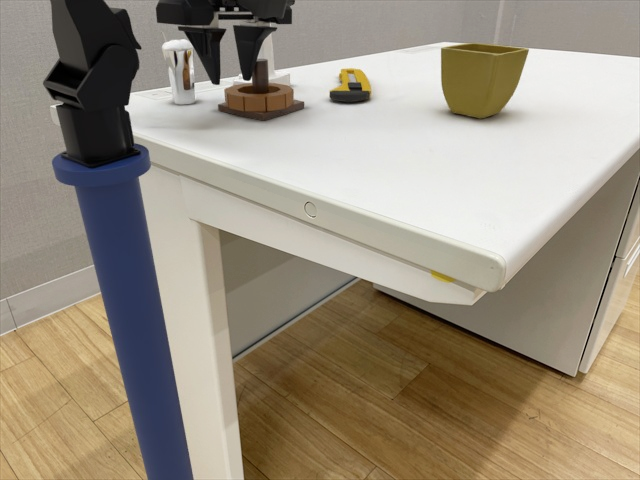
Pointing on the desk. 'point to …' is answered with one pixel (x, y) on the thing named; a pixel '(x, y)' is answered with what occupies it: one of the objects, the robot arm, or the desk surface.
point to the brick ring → (259, 98)
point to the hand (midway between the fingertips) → (232, 82)
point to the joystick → (266, 53)
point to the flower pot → (480, 77)
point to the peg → (261, 87)
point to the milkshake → (180, 69)
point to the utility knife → (352, 86)
